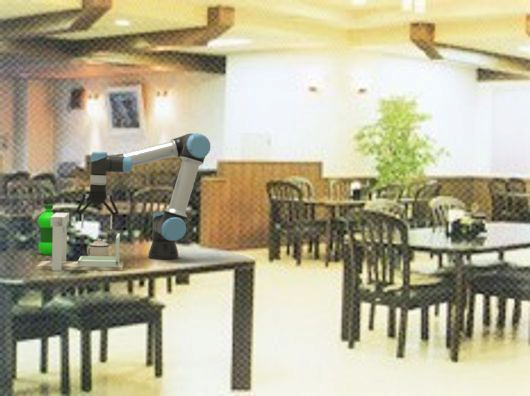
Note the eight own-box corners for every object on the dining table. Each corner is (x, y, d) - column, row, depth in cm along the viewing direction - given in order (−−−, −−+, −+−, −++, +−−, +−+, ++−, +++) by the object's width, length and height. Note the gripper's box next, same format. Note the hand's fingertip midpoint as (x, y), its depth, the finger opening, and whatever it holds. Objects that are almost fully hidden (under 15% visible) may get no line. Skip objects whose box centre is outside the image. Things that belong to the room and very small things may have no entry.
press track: (123, 265, 445) (123, 262, 445) (122, 270, 428) (122, 267, 428) (41, 264, 441) (41, 260, 441) (37, 269, 424) (37, 266, 424)
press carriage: (119, 261, 445) (120, 233, 444) (117, 267, 428) (118, 237, 427) (80, 261, 443) (81, 232, 442) (77, 266, 426) (78, 236, 425)
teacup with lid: (112, 263, 451) (113, 238, 451) (99, 264, 444) (99, 240, 443) (94, 260, 458) (94, 236, 457) (80, 262, 451) (81, 238, 450)
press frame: (68, 263, 446) (69, 212, 444) (63, 270, 422) (64, 217, 420) (55, 263, 445) (56, 212, 443) (49, 270, 421) (50, 217, 419)
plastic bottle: (61, 255, 475) (62, 205, 473) (41, 255, 469) (42, 205, 467) (54, 252, 483) (54, 203, 481) (34, 253, 477) (35, 204, 475)
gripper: (124, 184, 454) (123, 228, 455) (72, 182, 451) (70, 226, 452) (124, 185, 446) (122, 230, 448) (70, 183, 443) (69, 228, 445)
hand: (96, 228), depth 450 cm, fingers open, 13 cm apart
